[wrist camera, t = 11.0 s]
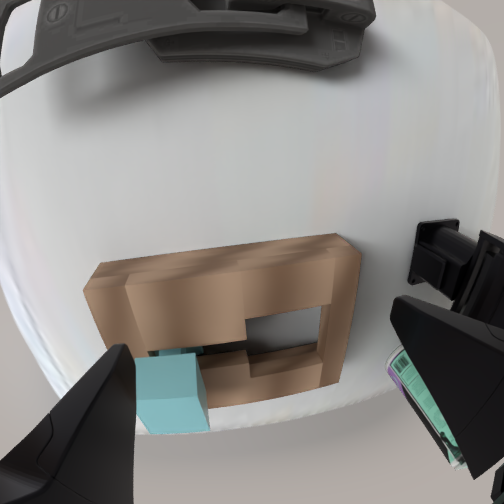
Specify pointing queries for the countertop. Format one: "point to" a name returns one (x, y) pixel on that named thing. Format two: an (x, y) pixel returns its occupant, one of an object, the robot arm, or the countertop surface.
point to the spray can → (423, 405)
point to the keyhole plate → (233, 310)
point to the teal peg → (171, 392)
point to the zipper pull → (194, 32)
